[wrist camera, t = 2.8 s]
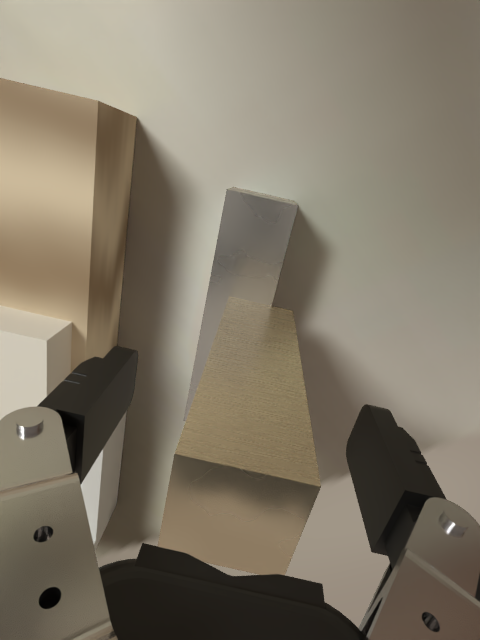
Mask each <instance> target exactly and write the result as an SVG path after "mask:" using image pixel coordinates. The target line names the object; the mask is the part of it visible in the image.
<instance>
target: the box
mask: <svg viewBox="0 0 480 640" xmlns="http://www.w3.org/2000/svg"><path fill="white" fill-rule="evenodd" d="M126 414H127V411H126V412H125V414H124V415H123V417H122V419H121V420H120V422H119V424H118V425H117V427H116V428H115V430H114V432H113V433H112V435H111V437H110V438H109V440H108V441H107V443H106V445H105V446H104V448H103V450H102V451H101V453H100V454H99V456H98V458H97V459H96V461H95V463H94V464H93V466H92V467H91V469H90V471H89V472H88V474H87V476H86V477H85V479H84V480H83V482H82V484H80V485H81V489H82V494H83V498H84V503H85V507H86V512H87V517H88V521H89V526H90V530H91V535H92V539H93V544H94V548H95V550H96V548H97V545H98V543H99V541H100V539H101V537H102V535H103V533H104V530H105V528H106V526H107V524H108V522H109V520H110V518H111V516H112V513H113V511H114V509H115V507H116V505H117V497H118V487H119V478H120V469H121V460H122V451H123V441H124V432H125V423H126Z"/></svg>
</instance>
